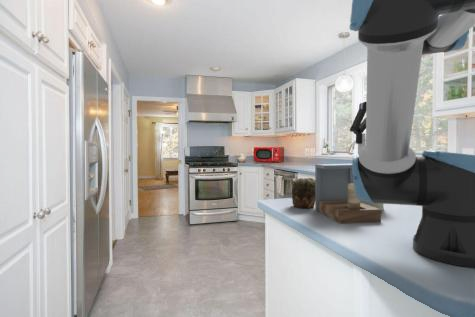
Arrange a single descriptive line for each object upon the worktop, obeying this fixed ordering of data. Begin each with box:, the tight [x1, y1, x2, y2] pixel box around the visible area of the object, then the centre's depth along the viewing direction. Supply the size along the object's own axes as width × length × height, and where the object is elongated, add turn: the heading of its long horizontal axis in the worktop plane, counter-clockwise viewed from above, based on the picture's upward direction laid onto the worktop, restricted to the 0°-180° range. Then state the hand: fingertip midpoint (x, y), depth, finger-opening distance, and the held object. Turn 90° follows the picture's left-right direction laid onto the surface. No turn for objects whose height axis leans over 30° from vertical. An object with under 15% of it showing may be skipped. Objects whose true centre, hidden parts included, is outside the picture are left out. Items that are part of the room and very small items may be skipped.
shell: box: [291, 177, 315, 209], centre depth 112 cm, size 11×11×12 cm
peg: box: [348, 183, 360, 210], centre depth 91 cm, size 4×4×12 cm
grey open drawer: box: [314, 163, 354, 212], centre depth 102 cm, size 8×15×18 cm, turn 96°
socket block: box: [318, 200, 382, 224], centre depth 96 cm, size 17×14×4 cm
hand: (380, 154), depth 86 cm, fingers open, 13 cm apart
